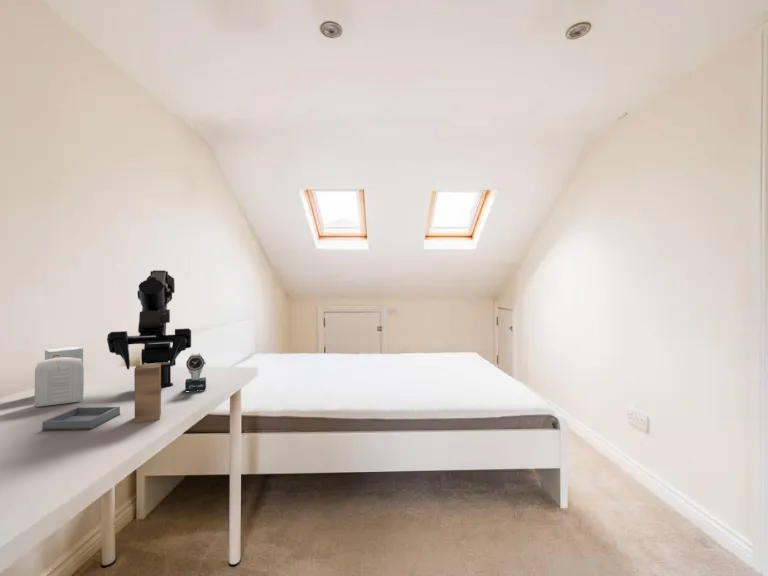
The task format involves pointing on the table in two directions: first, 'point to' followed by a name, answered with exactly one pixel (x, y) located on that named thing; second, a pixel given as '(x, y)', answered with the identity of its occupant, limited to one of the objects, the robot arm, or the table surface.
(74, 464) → the table surface
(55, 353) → the small box
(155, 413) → the walnut block
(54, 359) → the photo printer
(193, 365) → the watch
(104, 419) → the tray
